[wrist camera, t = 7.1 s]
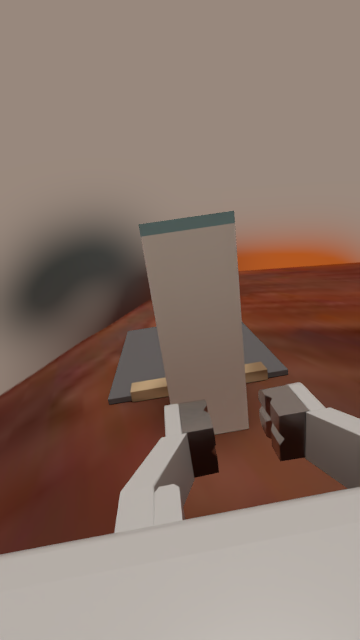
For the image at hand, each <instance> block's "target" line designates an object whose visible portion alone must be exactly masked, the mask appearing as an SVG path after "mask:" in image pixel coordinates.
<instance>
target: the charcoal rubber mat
mask: <svg viewBox="0 0 360 640" xmlns="http://www.w3.org/2000/svg"><path fill="white" fill-rule="evenodd" d="M242 335H243V350H244V364H249V363H255V362H262V363H263V365H264V366H265V367H266V368H267V371H268V378H270V377H276V376H281V375H287V374H288V369H287V368H286V367H285V366H284V365H283V364H282V363H281V362H280V361H279V360H278V359H277V358H276V357H275V356H274V355H273V354H272V353H271V352H270V351H269V349H268V348H267V347H266V346H265V345H264V344H263V343H262V342H261V341H260V340H259V339H258V338H257V337H256V336H255V335H254V334H253V333H252V332H251V331H250V330H249V329H248V328H247V327H246V326H245V325H244V324H243V323H242ZM165 377H166V376H165V371H164V365H163V359H162V354H161V348H160V342H159V337H158V331H157V327H152V328H146V329H140V330H133V331H128V333H127V336H126V340H125V343H124V347H123V350H122V354H121V357H120V360H119V364H118V367H117V371H116V374H115V377H114V381H113V384H112V388H111V391H110V395H109V398H108V402H109V404H115V403H121V402H127V401H132V397H131V393H130V391H131V385H132V383H135V382H141V381H147V380H153V379H159V378H165Z"/></svg>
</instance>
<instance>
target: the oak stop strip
mask: <svg viewBox="0 0 360 640" xmlns="http://www.w3.org/2000/svg"><path fill="white" fill-rule="evenodd" d="M244 365H245V379H246V383H249V382H255V381H261V380H267V379H268V371H267V368H266V367H265V366H264V365H263V363H262V362H255V363H249V364H244ZM130 393H131V397H132V402H137V401H143V400H149V399H154V398H160V397H166V396H169V393H168V388H167V382H166V377H165V378H159V379H153V380H147V381H141V382H135V383H132V385H131V391H130Z"/></svg>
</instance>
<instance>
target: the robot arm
mask: <svg viewBox="0 0 360 640" xmlns="http://www.w3.org/2000/svg"><path fill="white" fill-rule="evenodd" d="M258 395H259V401H260V403H261V404H262V407H261V408H260V410H259V413H260V420H261V424H262V427H263V430H264V432H265V434H266V436H267V437H269V438H270V439H272V447H273V449H274V451H275V452H276V454H277V456H278V458H279V460H280V461H285V460H291V459H298V458H304V457H306V458H305V459H307V460H308V461H310V462H311V463H312V464H314V465H315V466H317V467H318V468H320V469H321V470H322V471H324V472H325V473H327V474H328V475H330V476H331V477H332V478H334V479H335V480H337V481H338V482H340V483H341V484H342V485H344V486H345V487H347V488H348V489H345V490H340V491H334V492H329V493H324V494H318V495H313V496H308V497H303V498H297V499H292V500H287V501H282V502H276V503H271V504H266V505H260V506H255V507H250V508H245V509H239V510H234V511H229V512H224V513H218V514H213V515H208V516H202V517H197V518H192V519H187V520H185V515H184V510H183V506H184V504H185V501H186V499H187V497H188V494H189V492H190V489H191V487H192V484H193V482H194V478H195V477H200V476H205V475H209V474H214V473H219V469H218V460H217V454H216V450H215V445H216V444H215V436H214V429H213V425H212V421H211V418H210V414H209V413H208V410H207V404H206V401H205V399H203V400H197V401H190V402H183V403H179V405H178V403H177V404H171V405H165V407H164V415H165V437H162V438H161V439H160V440H159V441H158V443H157V444H156V445H155V447H154V448H153V449H152V451H151V452H150V453H149V455H148V456H147V457H146V459H145V460H144V461H143V463H142V464H141V465H140V467H139V468H138V469H137V471H136V472H135V473H134V475H133V476H132V477H131V479H130V480H129V481H128V483H127V484H126V485H125V487H124V488H123V490H122V491H121V492H120V498H119V505H118V512H117V519H116V526H115V533H112V534H107V535H102V536H97V537H91V538H86V539H81V540H75V541H70V542H65V543H60V544H54V545H49V546H44V547H38V548H33V549H28V550H22V551H17V552H12V553H7V554H1V555H0V640H360V419H359V418H356V417H353V416H351V415H348V414H346V413H343V412H340V411H338V410H335V409H332V408H325V407H324V406H323V405H322V404H321V403H320V402H319V401H318V400H317V399H316V398H315V397H314V396H313V395H312V394H311V393H310V392H309V391H308V390H307V389H306V388H305V386H304V385H303V384H302V383H299V382H297V383H292V384H288V385H285V386H279V387H274V388H268V389H263V390H259V394H258Z"/></svg>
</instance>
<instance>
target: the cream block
mask: <svg viewBox="0 0 360 640" xmlns="http://www.w3.org/2000/svg"><path fill="white" fill-rule="evenodd" d="M139 228H140V235H141V240H142V246H143V252H144V257H145V263H146V268H147V274H148V280H149V286H150V291H151V297H152V303H153V308H154V314H155V320H156V325H157V331H158V337H159V342H160V348H161V354H162V359H163V365H164V371H165V376H166V382H167V388H168V393H169V399H170V405H171V404H177V403H178V405H179V403H183V402H190V401H197V400H203V399H205V401H206V404H207V410H208V413H209V414H210V418H211V421H212V425H213V429H214V435H215V434H221V433H226V432H232V431H238V430H244V429H249V423H248V409H247V394H246V379H245V365H244V350H243V335H242V321H241V306H240V291H239V277H238V262H237V250H236V249H237V248H236V233H235V218H234V211H229V212H222V213H216V214H209V215H201V216H195V217H188V218H181V219H174V220H167V221H161V222H153V223H146V224H139Z"/></svg>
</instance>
